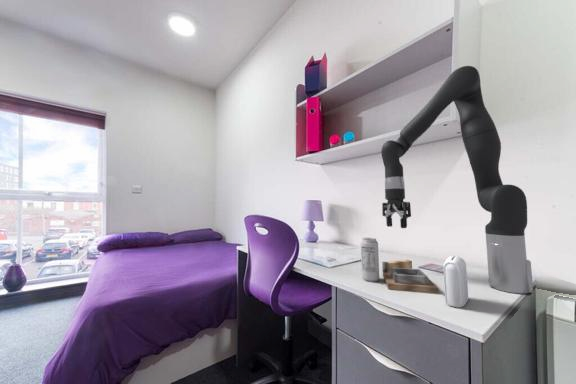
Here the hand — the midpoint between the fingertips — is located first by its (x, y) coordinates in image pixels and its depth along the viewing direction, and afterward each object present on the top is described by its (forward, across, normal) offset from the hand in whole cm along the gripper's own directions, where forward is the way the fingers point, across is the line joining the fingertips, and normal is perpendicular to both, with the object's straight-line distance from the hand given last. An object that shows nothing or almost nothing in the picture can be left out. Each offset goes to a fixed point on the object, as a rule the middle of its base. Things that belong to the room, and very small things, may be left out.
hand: (396, 227), depth 94 cm
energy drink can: (+18, +7, -18) cm, 26 cm away
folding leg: (+18, +5, -5) cm, 19 cm away
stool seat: (+18, +15, -9) cm, 25 cm away
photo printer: (+18, +30, -6) cm, 35 cm away
